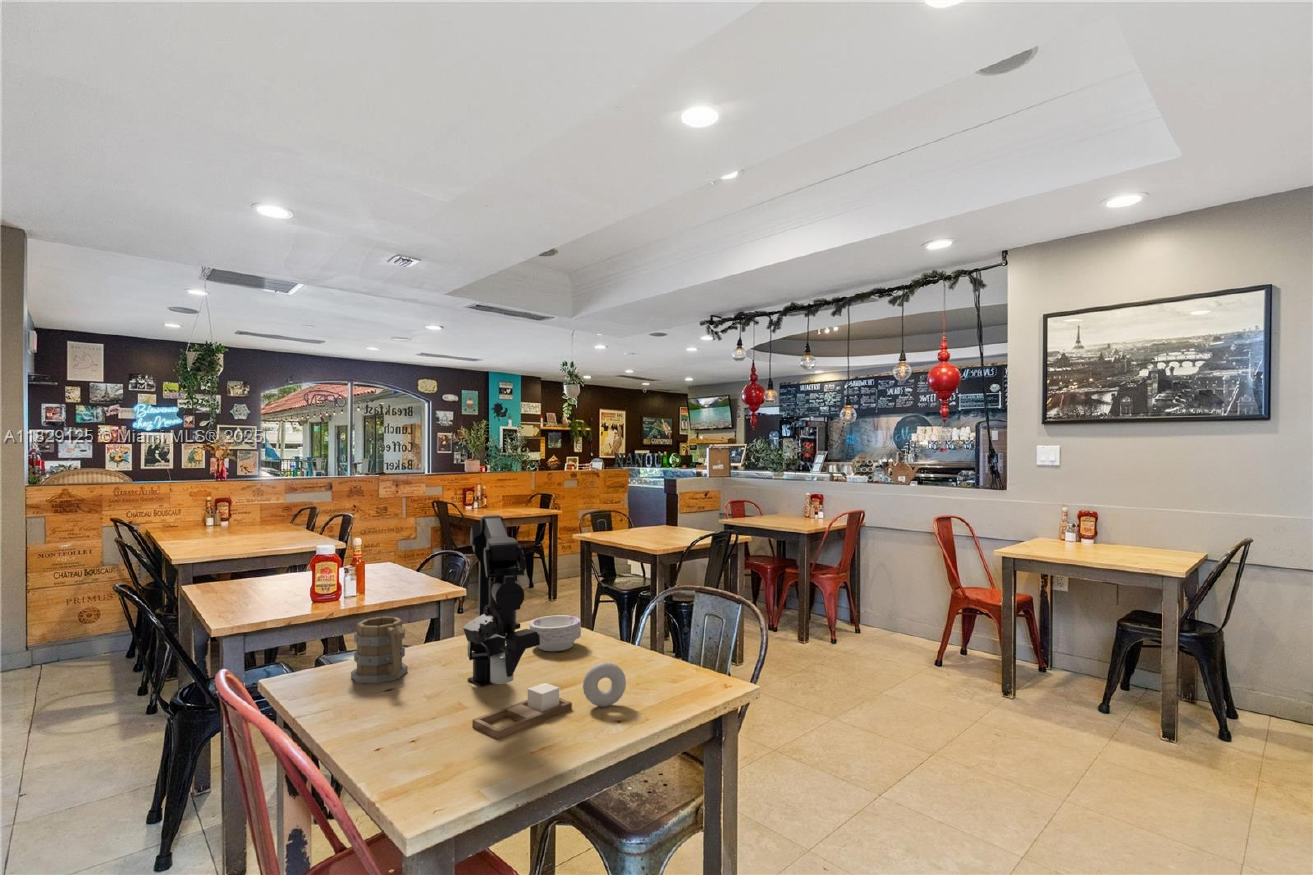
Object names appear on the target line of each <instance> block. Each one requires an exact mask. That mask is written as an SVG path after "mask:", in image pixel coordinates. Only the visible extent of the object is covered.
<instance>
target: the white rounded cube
mask: <svg viewBox="0 0 1313 875" xmlns="http://www.w3.org/2000/svg"><path fill="white" fill-rule="evenodd" d="M559 698H560V687H558V686H555V685H552V684H551V683H546V682H543V683H540V684H538V685H535V686H532V687H528V688H527V700H528V707H530V708H532V709H535V710H537V711H540V712H543V711H545V710H548V709H551V708H553V707H556V706H558V705H559Z"/></svg>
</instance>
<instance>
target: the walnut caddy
mask: <svg viewBox="0 0 1313 875" xmlns="http://www.w3.org/2000/svg"><path fill="white" fill-rule="evenodd" d="M572 706H573V704H572V701H569V700H566V699H564V698H562V697H559V705H558V706H556V707H553V708H551V709H548V710H545V711H543V712H540V711H537V710H535V709H532V708H530V707H528V699H526V700H525V699H524V700H523V701H520V702H517V703H514V704H512V705H509V706H506V707H504V708H501V709H498V710H495V711H492V712H490V713H486V714H483V715H481V716H479V717H476V718H473V719H472V728H475V729H477V730H478V731H481V732H482V733H485V734H487V735H489V736H491V737H493V738H494V739H497V740H498V739H502V738H504V737H506V736H508V735H509V736H510V735H512V734H514V733H516V732H519V731H521V730H524V729H526V728H529V727H531V726H534V725H537V724H538V723H542V722H543V721H546V720H549V719H551V718H553V717H556V716H558V715H561V714H563V713H566V712H568V711H571V710H572V709H573V707H572ZM505 717H507V718H509V719H511V720H514V721H515V722H512V723H509V724H507V725H505V726H503V727H500V728H499V727H496V726H494V725H492V724H491V723H492V722H495V721H497V720H501V719H502V718H505Z"/></svg>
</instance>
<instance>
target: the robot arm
mask: <svg viewBox="0 0 1313 875" xmlns="http://www.w3.org/2000/svg"><path fill="white" fill-rule="evenodd" d="M507 532H508V531H507V524H506V522H504V517H503V515H500V514H490V515H487V514H486V515H483V516H480V520H478V521H477V522H475V523H474V524H472V525H471V528H470V532H469V533H470V534H469V542H470V544H469V545H470V546H472V551H473V553H474V555H475V557H476V558H477V560H478V591H477V592H478V599H477V600H478V602H477V604H478V610H477V611H478V612H477V617H475V618H474V619H472V620H471V621H469V622H467V623H465V624H464V625H462V629H463V632H464V634H465V637H466V641H467V657H468V660H469V661H472V676H470V677H468V678H467V681H468V682H470V683H472V684H473V683H474V684H476V685H478V686H480V687H483V686H486V685H490V684H493V683H492V682H491V681H490V657H491V656H492V655H494V654H497V653H505V661H506V673H507V677H511V676H512V675H513V673H515V671H516V669H517V666H518V664H519V662H520V660H521V658H522V656H523V654H524V652H525V651H526V650H527V649H530V648H533V647H538V645H540V634H539V633H538V632H536V631H533V630H529V628H525V629H521V623H519V622H517V611H518V610H521V606H522V605H523V603H524V601H525V591H524V589H523V587H522V586H521V584H520V583H519V582H518V577H519V576H524V575H525V571H526V568H527V565H526V558H525V553H524V550H523V549H522V546H521V545H519V542H518V540H517V539H515V538H514V537H510V536H508V533H507ZM519 629H521V630H519ZM516 630H517V631H516Z"/></svg>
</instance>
